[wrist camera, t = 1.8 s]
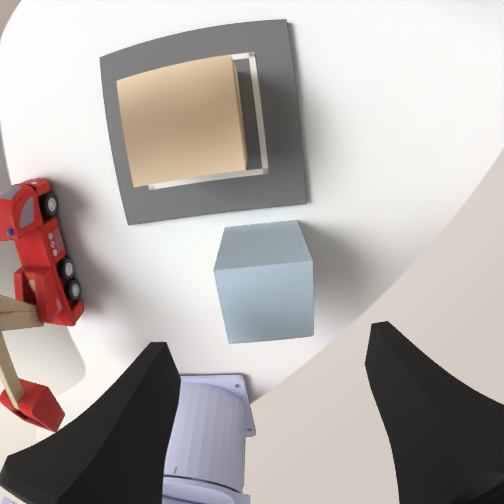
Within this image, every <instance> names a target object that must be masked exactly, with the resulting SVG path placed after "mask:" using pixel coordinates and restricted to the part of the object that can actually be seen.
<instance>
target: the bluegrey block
mask: <svg viewBox="0 0 504 504" xmlns="http://www.w3.org/2000/svg"><path fill="white" fill-rule="evenodd" d="M214 275H215V280H216V285H217V290H218V295H219V300H220V305H221V309H222V314H223V319H224V323H225V328H226V332H227V337H228V341H229V344H234V343H248V342H261V341H272V340H283V339H292V338H301V337H310V336H314V291H313V259H312V257H311V254H310V252H309V249H308V246H307V244H306V241H305V239H304V236H303V233H302V231H301V228H300V226H299V223H298V221H297V220H292V221H282V222H271V223H262V224H252V225H243V226H234V227H225V229H224V233H223V236H222V240H221V244H220V248H219V251H218V255H217V259H216V263H215V267H214Z"/></svg>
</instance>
